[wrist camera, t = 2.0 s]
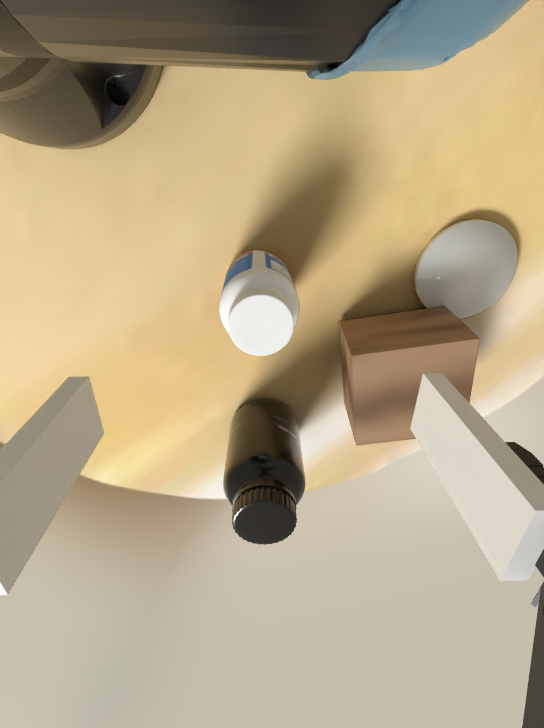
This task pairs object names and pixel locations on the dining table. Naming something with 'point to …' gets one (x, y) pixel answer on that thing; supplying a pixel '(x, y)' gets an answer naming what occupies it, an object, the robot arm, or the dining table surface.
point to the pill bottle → (259, 303)
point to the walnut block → (400, 367)
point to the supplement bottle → (264, 471)
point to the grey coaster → (466, 267)
